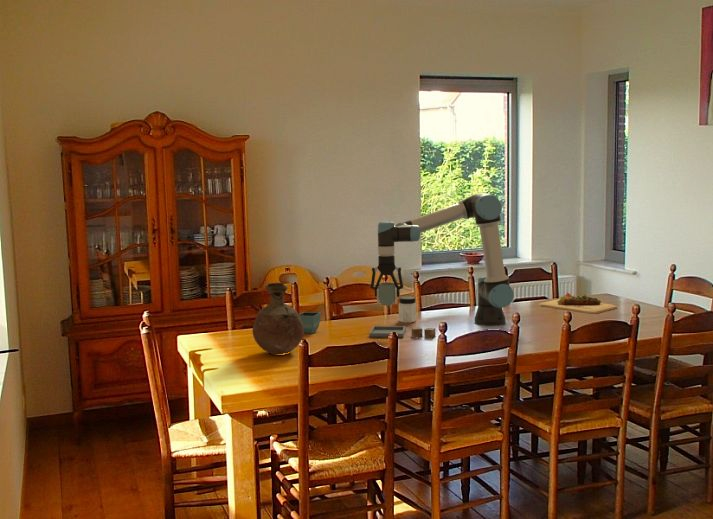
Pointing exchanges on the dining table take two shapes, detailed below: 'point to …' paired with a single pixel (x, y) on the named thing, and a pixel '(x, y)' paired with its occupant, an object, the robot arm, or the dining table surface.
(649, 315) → the dining table surface
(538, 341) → the dining table surface
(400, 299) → the jar
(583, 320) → the dining table surface
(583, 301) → the cutting board
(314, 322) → the flower pot
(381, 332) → the tray
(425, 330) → the walnut block
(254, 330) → the jug
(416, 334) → the walnut block
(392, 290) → the cup
